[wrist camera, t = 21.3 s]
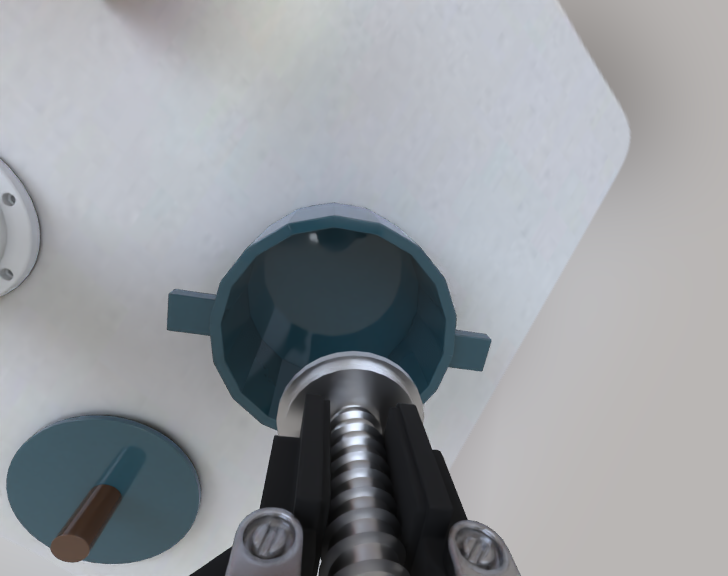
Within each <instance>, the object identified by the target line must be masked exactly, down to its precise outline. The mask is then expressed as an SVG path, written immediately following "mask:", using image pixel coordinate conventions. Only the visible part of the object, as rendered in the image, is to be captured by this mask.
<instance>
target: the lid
mask: <svg viewBox="0 0 728 576" xmlns="http://www.w3.org/2000/svg"><path fill="white" fill-rule="evenodd" d="M6 489H7V495H8V500H9V502H10V505H11V508H12V510H13V512H14V514H15V515H16V517H17V519H18V520H19V521H20V523H21V524H22V525H23V527H24V528H25V529H26V530H27V531H28V532H29V533H30V534H31V535H33V536H34V537H35V538H36V539H37V540H39V541H40V542H42V543H43V544H45V545H46V546H48V547H49V548H51V552H52V553H53V555H54V556H55V557H56V558H58V559H60V560H62V561H65V562H79V561H81V560H83V561H88V562H93V563H102V564H123V563H132V562H137V561H142V560H145V559H148V558H151V557H154V556H156V555H159V554H161V553H163V552H165V551H166V550H168V549H170V548H171V547H173V546H174V545H175V544H177V543H178V542H179V541H180V540H181V539H182V538H183V537H184V536H185V535H186V533H187V532H188V531H189V530H190V528H191V526H192V525H193V523H194V521H195V518H196V516H197V513H198V510H199V507H200V501H201V488H200V482H199V478H198V475H197V473H196V470H195V468H194V466H193V464H192V462H191V461H190V460H189V458H188V457H187V455H186V454H185V453H184V452H183V451H182V450H181V449H180V448H179V446H178V445H176V444H175V443H174V442H173V441H172V440H170V439H169V438H168V437H166V436H165V435H163V434H162V433H160V432H159V431H157V430H155V429H153V428H151V427H149V426H147V425H144V424H141V423H139V422H136V421H133V420H129V419H125V418H120V417H114V416H103V415H90V416H79V417H73V418H69V419H65V420H62V421H58V422H56V423H54V424H51V425H49V426H47V427H45V428H43V429H42V430H40V431H39V432H37V433H36V434H34V435H33V436H32V437H31V438H30V439H28V440H27V441H26V442H25V443H24V444H23V445H22V446H21V448H20V449H19V450H18V451H17V453H16V454H15V456H14V457H13V459H12V461H11V464H10V466H9V469H8V474H7V479H6Z"/></svg>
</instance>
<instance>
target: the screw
mask: <svg viewBox="0 0 728 576" xmlns="http://www.w3.org/2000/svg"><path fill="white" fill-rule="evenodd" d="M306 393H310V394H319V395H324V400H330V437H331V498H330V508H329V514H328V519H327V524H326V530H325V535H324V540H323V546H322V551H321V556H320V557H321V560H322V562H321V565H320V568H319V576H410V574H409V572H408V571H407V570H406V569H405V568H404V567H403V565H404V562H405V559H406V550H405V547H404V545H403V544H402V543H401V541H400V540H399V537H400V534H401V525H400V523H399V521H398V519H397V518H396V517H395V515H396V511H397V505H396V502H395V500H394V498H393V497H392V493H393V485H392V482H391V480H390V479H389V475H390V469H389V466H388V464H387V462H386V460H387V454H386V451H385V449H384V439H383V437H384V432H385V428H386V423H387V419H388V414H389V410H390V408H391V407H396V405H397V403H405V404H414V405H416V407H417V410H418V412H419V415H420V418H421V421H422V423H423V420H424V413H423V403H422V400H421V398H420V395H419V392H418V389H417V387H416V385H415V384H414V382H413V381H412V379H411V378H410V376H409V375H408V374H407V373H406V372H405V371H404V370H403V369H402V368H401V367H400V366H399V365H397V364H396V363H394V362H392V361H390V360H389V359H387V358H385V357H382V356H379V355H376V354H373V353H369V352H359V351H347V352H337V353H334V354H330V355H327V356H324V357H321V358H319V359H317V360H315V361H313V362H311V363H310V364H308V365H306V366H305V367H304V368H303V369H301V370H300V371H299V372H298V373H297V374H296V375H295V376H294V377H293V378H292V379H291V381H290V382H289V383H288V385H287V386H286V388H285V390H284V392H283V394H282V397H281V399H280V402H279V408H278V414H277V430H278V435H279V436H287V437H298V438H299V437H300V430H301V424H302V417H303V411H304V404H305V398H306Z"/></svg>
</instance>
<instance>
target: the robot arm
mask: <svg viewBox="0 0 728 576" xmlns="http://www.w3.org/2000/svg"><path fill="white" fill-rule="evenodd" d="M39 245H40V229H39V223H38V217H37V214H36V211H35V208H34V206H33V203H32V200H31V198H30V196H29V195H28V193H27V191H26V189H25V188H24V186H23V184H22V183H21V181H20V180H19V179H18V178H17V176H16V175H15V174H14V173H13V171H12V170H11V169H10V168H9V167H8V166H7V165H6V164H5V163H4V162H3V161H2V160H1V159H0V296H3V295H5V294H7V293H8V292H10V291H11V290H13V289H14V288H16V287H18V286H19V285H20V284H21V283H22V282H23V280H24V279H25V278H26V277H27V276H28V275H29V273H30V271H31V270H32V268H33V266H34V264H35V262H36V259H37V255H38V252H39ZM383 439H384V449H385V451H386V454H387V460H386V462H387V464H388V466H389V469H390V475H389V479H390V480H391V482H392V485H393V493H392V497H393V498H394V500H395V502H396V505H397V511H396V515H395V517H396V518H397V519H398V521H399V523H400V525H401V534H400V537H399V540H400V541H401V543H402V544H403V545H404V547H405V550H406V559H405V562H404V565H403V567H404V568H405V569H406V570H407V571H408V572H409V574H410V576H521V575H520V573H519V571H518V569H517V566H516V564H515V562H514V560H513V558H512V555H511V553H510V551H509V549H508V547H507V546H506V544H505V543H504V541H503V539H502V538H501V537H500V536H499V535H498V534H497V533H496V532H495V531H493V530H492V529H491V528H489V527H488V526H486V525H484V524H482V523H479V522H477V521H471V520H468V519H467V517H466V514H465V512H464V509H463V507H462V504H461V502H460V499H459V497H458V494H457V491H456V489H455V486H454V484H453V481H452V479H451V476H450V473H449V471H448V468H447V466H446V463H445V461H444V458H443V456H442V454H441V452H440V451H439V450H432V448H431V445H430V443H429V440H428V437H427V434H426V432H425V429H424V426H423V423H422V421H421V418H420V415H419V412H418V410H417V407H416V405H414V404H405V403H397V405H396V407H391V408H390V410H389V414H388V419H387V423H386V428H385V432H384V437H383ZM330 498H331V437H330V400H324V395H319V394H310V393H306V398H305V404H304V411H303V417H302V424H301V430H300V437H299V438H298V437H287V436H276V435H275V436H274V440H273V445H272V450H271V455H270V460H269V465H268V470H267V475H266V480H265V485H264V490H263V495H262V500H261V505H260V509H259V510H256V511H254V512H252V513H251V514H249V515H247V516H246V517H245V518H244V519H243V521H242V522H241V523H240V524H239V527H238V529H237V531H236V534H235V538H234V542H233V546H232V547H230V548H229V549H227V550H226V551H224V552H223V553H222V554H220V555H219V556H217V557H216V558H214V559H213V560H211V561H210V562H209V563H207V564H206V565H204V566H203V567H201V568H200V569H198V570H197V571H195V572H194V573H193V574H191V575H190V576H317V572H318V567H319V561H320V556H321V551H322V546H323V540H324V535H325V530H326V524H327V519H328V514H329V508H330Z"/></svg>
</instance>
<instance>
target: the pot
mask: <svg viewBox="0 0 728 576" xmlns="http://www.w3.org/2000/svg"><path fill="white" fill-rule="evenodd" d="M456 319H457V318H456V313H455V310H454V306H453V303H452V299H451V296H450V293H449V289H448V286H447V283H446V280H445V278H444V277H443V275H442V274H441V273H440V271H439V270H438V269H437V268H436V266H435V265H434V264H433V263H432V261H431V260H430V259H429V258H428V256H427V255H426V254H425V252H424V251H423V250H422V249H421V247H420V246H419V245H418V244H416V243H415V242H414V241H413V240H412V239H411V238H410V237H409V236H408V235H406V234H405V233H404V232H403V231H402V230H401V229H400V228H399V227H398V226H396V225H395V224H393V223H391V222H390V221H388V220H386V219H385V218H383V217H381V216H380V215H378V214H376V213H375V212H373V211H371V210H370V209H367V208H362V207H357V206H353V205H347V204H340V203H335V202H334V203H327V204H319V205H313V206H309V207H304V208H300V209H297V210H295V211H294V212H292V213H290V214H288V215H286V216H285V217H283V218H282V219H280V220H278V221H277V222H275V223H273V224H272V225H270V226H269V227H268V228H267V229H266V230H265V231H264V232H263V233H262V234H261V235H260V236H258V237H257V238H256V239H255V240H254V241H253V242H252V243H251V244H250V245H249V246H248V247H247V248H246V250H245V251H244V252H243V254H242V255H241V256H240V257H239V259H238V260H237V261H236V262H235V264H234V265H233V266H232V268H231V269H230V270H229V271H228V273H227V274H226V275H225V276H224V278H223V279H222V280H221V282H220V285H219V288H218V292H217V295H214V294H207V293H200V292H193V291H186V290H179V289H174V290H173V291H171V292H170V293H169V296H168V317H167V330H170V331H177V332H185V333H192V334H200V335H208V336H210V337H211V346H212V354H213V362H214V365H215V366H216V368H217V370H218V372H219V374H220V376H221V378H222V379H223V381H224V383H225V385H226V387H227V389H228V391H229V392H230V394H231V396H232V398H233V399H234V400H235V401H236V402H237V403H239V404H240V405H241V406H242V407H243V408H244V409H245V410H246V411H248V412H249V413H250V414H251V415H252V416H253V417H254V418H255V419H257V420H258V421H259V422H260V423H261V424H263V425H265V426H268V427H270V428H272V429H275V430H277V414H278V408H279V402H280V399H281V397H282V394H283V392H284V390H285V388H286V386H287V385H288V383H289V382H290V381H291V379H292V378H293V377H294V376H295V375H296V374H297V373H298V372H299V371H300V370H301V369H303V368H304V367H305V366H306V365H308V364H310V363H311V362H313V361H315V360H317V359H319V358H321V357H324V356H327V355H330V354H334V353H337V352H347V351H359V352H369V353H373V354H376V355H379V356H382V357H385V358H387V359H389V360H390V361H392V362H394V363H396V364H397V365H399V366H400V367H401V368H402V369H403V370H404V371H405V372H406V373H407V374H408V375H409V376H410V378H411V379H412V381H413V382H414V384H415V385H416V387H417V389H418V392H419V395H420V398H421V400H422V403H423V404H424V403H425V402H426V401H427V400H428V399H429V398H430V397H431V396H432V395H433V394H434V393H435V392H436V390H437V389H438V387H439V385H440V383H441V381H442V379H443V376H444V374H445V372H446V370H447V368H448V367H452V368H459V369H467V370H474V371H483V367H484V364H485V361H486V357H487V354H488V351H489V348H490V344H491V339H490V338H489V336H488V335H487V334H482V333H475V332H468V331H461V330H456ZM277 431H278V430H277Z"/></svg>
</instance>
